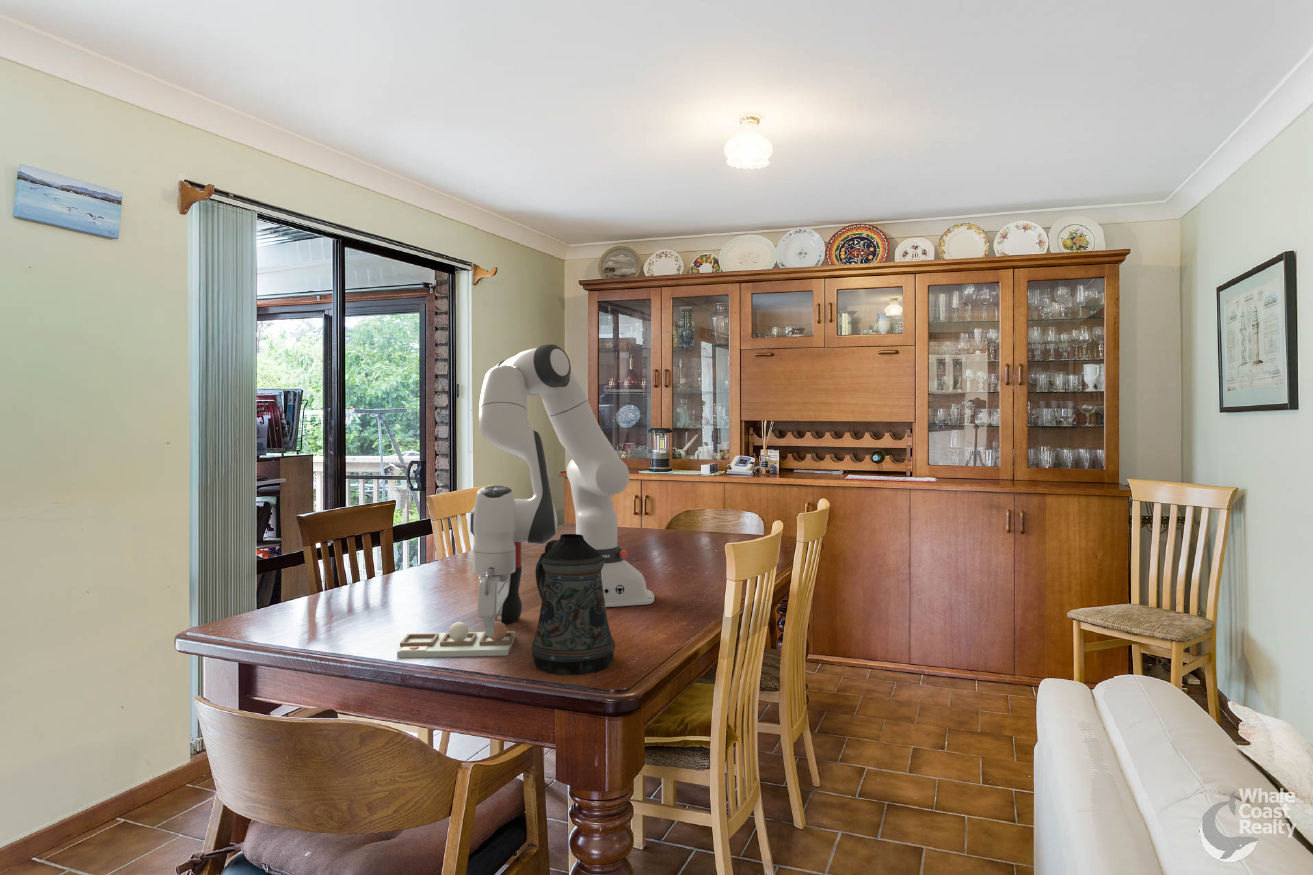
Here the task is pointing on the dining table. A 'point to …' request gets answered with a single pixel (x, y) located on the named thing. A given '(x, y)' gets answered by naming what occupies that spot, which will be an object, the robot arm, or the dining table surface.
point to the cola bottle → (513, 592)
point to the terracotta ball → (499, 631)
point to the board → (453, 645)
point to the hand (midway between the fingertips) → (493, 628)
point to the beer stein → (571, 610)
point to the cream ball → (458, 631)
